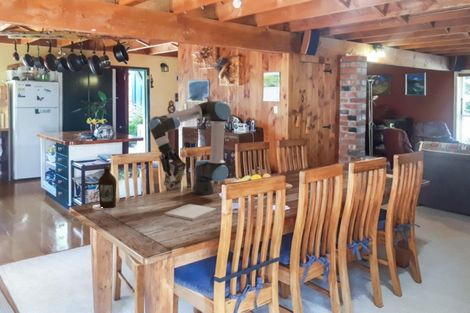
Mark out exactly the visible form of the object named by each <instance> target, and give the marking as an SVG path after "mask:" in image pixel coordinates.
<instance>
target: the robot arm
mask: <svg viewBox="0 0 470 313" xmlns="http://www.w3.org/2000/svg"><path fill="white" fill-rule="evenodd" d="M230 116H231V107H230V104H228V103H227V102H225V101H216V100H215V101H214V100H210V101H209V100H207V101H204V102H200V103H198V104H194V106H192V107H190V108H186V109H181V110H179V111H174V112H172V113H167V114H164V115H161V116H153V117H152V118H151V119H150V120H149V122H148V123H147V124H148V128H149V131H150V133H151V135H152V137H153V139H154V141H155V144H156V146H157V147H158V151H159V153H161V154H160V155H159V156H158V157H159V159H160V162H161V167H162V171H163V172H164V173H168V176H169V177H170V179H171V181H175V177H174V175H173V173H172V171H171V170H170V165H169V162H170V160H171V161H175V160H181V161H182V162H183V160H182V159H181V157H180V156H179V154H178V153H177V151H176V149H172V145H171V143H170V140H169V138H168V136H167V134H166V133H168V132H170V131H173V130H176V129H178V128H180V126H181V123H184V122H188V121H191V120H195V119H198V120H199V119H206V118H207V119H209V123H211V135H210V138H211V139H210V159H206V160H205V159H204V160H197V161H196V162H195V166H194V168H195V170H194V172H195V174H194V176H195V182H194V185H193V187H192V188H193V189H192V193H193V194H195V195H199V196H200V195H202V196H205V195H206V196H207V195H212V194H215V188H214V185H213V182H214V183H221V182H224V181H225V179H226V178H228V175H229V169H228V167H227V166H226V161H225V160H224V145H225V144H224V143H225V141H224V140H225V125H226V123H227V122H228V119H229V118H230ZM185 175H186V174H185V172H184V173H183V177H185Z"/></svg>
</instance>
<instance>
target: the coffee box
mask: <svg viewBox="0 0 470 313" xmlns="http://www.w3.org/2000/svg"><path fill="white" fill-rule="evenodd" d="M181 160H182V159H181ZM181 160H175V161H173V160H171V161H169V165H170V170H171V171H172V173H173V175H174V177H175V181H171V179H170V177H169V176H168V173H167V172H165V177H164V181H163V184H162V185H163V186H164V187H166V188H167V189H168V190H172V189H175V188H179V187H180V186H181V185H182V181H183V177H184V176H183V173H185V168H186V165H187V163H186V162H184V161H183V160H182V161H181Z"/></svg>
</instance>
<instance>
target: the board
mask: <svg viewBox="0 0 470 313" xmlns="http://www.w3.org/2000/svg"><path fill="white" fill-rule="evenodd" d="M213 211H214V212H216V211H217V208H215V207H209V206H204V205H198V204H193V203H188V204H185V205H181V206H179V207H177V208H173V209H172V210H168V211H166V212H164V215H165V216H169V217H175V218H180V219H186V220H190V221H195V220H197V219H199V218H202V217H204V216H206V215H209V214H212V213H213Z"/></svg>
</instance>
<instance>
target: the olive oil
mask: <svg viewBox="0 0 470 313" xmlns="http://www.w3.org/2000/svg"><path fill="white" fill-rule="evenodd" d="M97 185H98V194H99V195H98V196H99V197H98V198H99V208H101V207H103V208H102V209H106V208H107V209H113V208H116V206H117V179H116V177H115V176H114V175H113V174H112V173H111V166H110V165H107V166H104V167H103V173H102V174H101V176H99V178H98V182H97Z"/></svg>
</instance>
